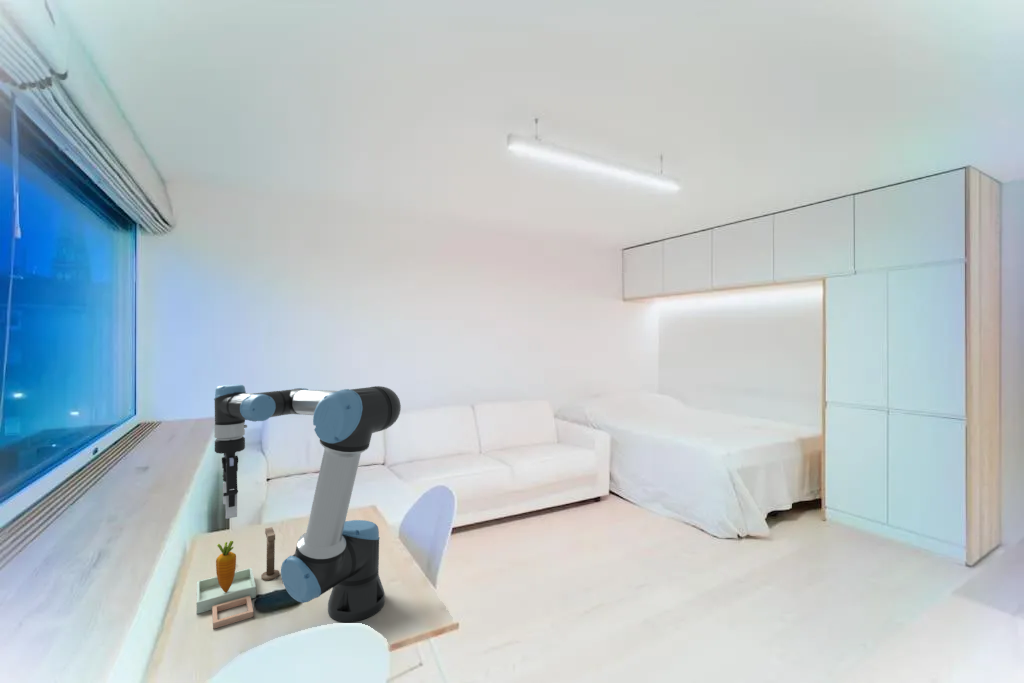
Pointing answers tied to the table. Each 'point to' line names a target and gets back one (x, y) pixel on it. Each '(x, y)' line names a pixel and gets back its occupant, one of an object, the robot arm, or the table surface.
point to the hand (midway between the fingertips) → (229, 510)
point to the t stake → (270, 556)
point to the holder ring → (232, 618)
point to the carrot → (226, 566)
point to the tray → (214, 595)
